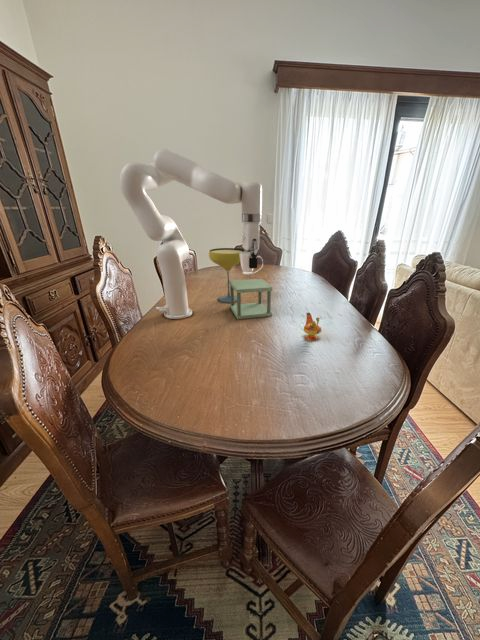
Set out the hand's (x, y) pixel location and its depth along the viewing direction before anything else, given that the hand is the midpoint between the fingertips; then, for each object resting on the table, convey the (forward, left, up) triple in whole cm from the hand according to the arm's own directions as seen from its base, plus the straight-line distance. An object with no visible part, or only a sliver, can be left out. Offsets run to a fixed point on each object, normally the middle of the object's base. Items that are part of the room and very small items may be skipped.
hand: (251, 265), depth 119 cm
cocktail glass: (-4, +29, -23) cm, 38 cm away
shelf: (+2, +8, -23) cm, 25 cm away
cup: (0, 0, -3) cm, 3 cm away
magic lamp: (+18, -25, -23) cm, 38 cm away
